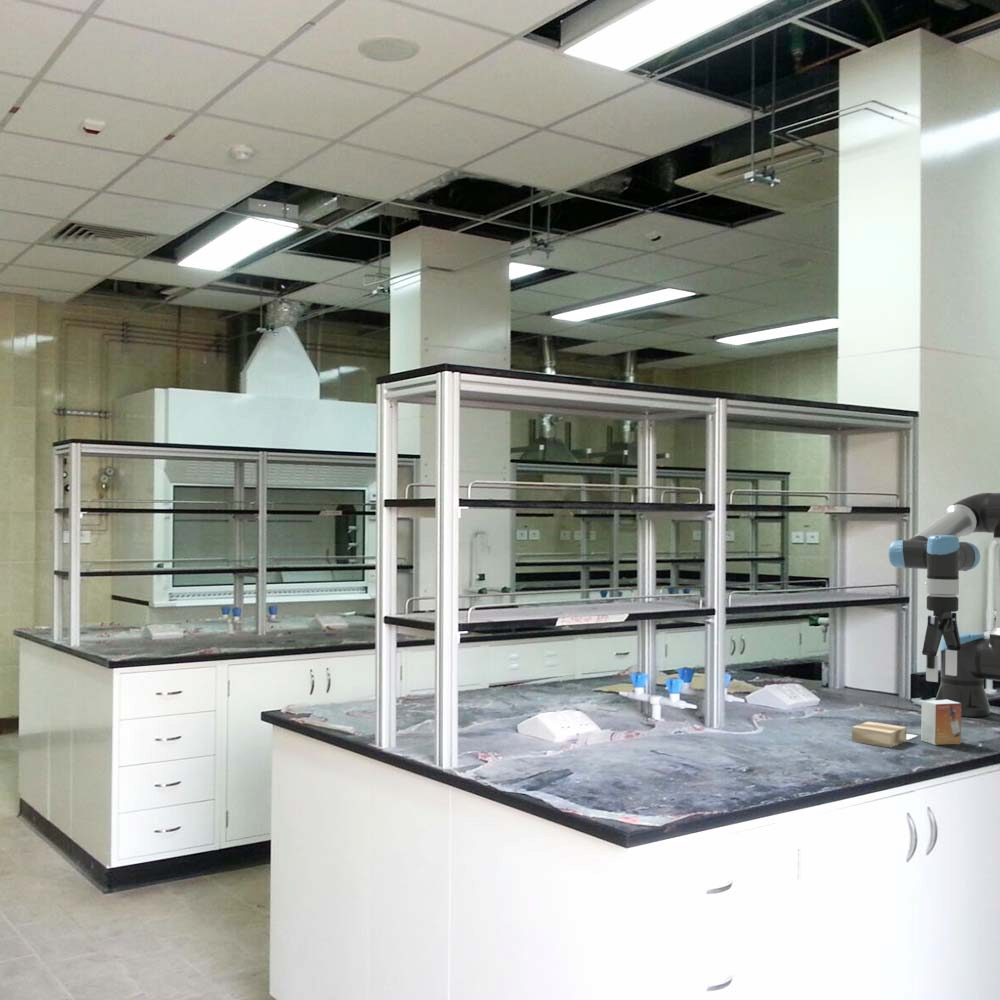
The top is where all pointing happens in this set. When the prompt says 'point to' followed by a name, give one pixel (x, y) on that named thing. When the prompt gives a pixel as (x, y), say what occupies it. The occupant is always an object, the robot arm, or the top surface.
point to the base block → (879, 734)
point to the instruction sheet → (910, 736)
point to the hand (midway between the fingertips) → (941, 678)
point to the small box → (941, 722)
